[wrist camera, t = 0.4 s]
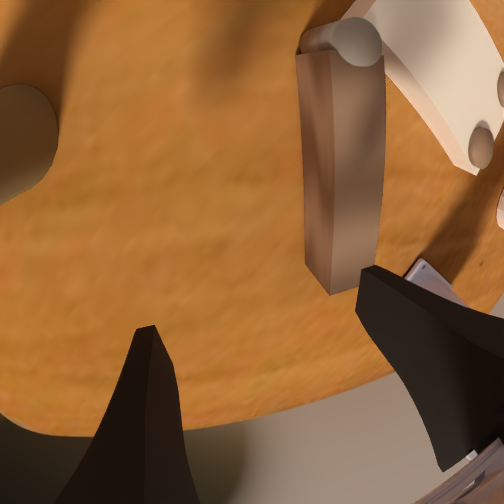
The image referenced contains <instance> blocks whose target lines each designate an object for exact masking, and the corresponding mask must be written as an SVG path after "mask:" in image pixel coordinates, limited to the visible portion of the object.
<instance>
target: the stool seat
mask: <svg viewBox="0 0 504 504" xmlns="http://www.w3.org/2000/svg"><path fill="white" fill-rule="evenodd" d="M351 17H360V18H363V19H365V20H367V21H369V22H370V23H371V24H373V26H374V27H375V28H376V29H377V31H378V32H379V34H380V37H381V40H382V54H381V55H384V65H385V74H386V75H387V76H388V77H389V78H390V79H391V80H392V82H393V83H394V84H395V85H396V86H397V87H398V88H399V90H400V91H401V92H402V93H403V94H404V96H405V97H406V98H407V99H408V101H409V102H410V103H411V104H412V106H413V107H414V108H415V109H416V111H417V112H418V113H419V115H420V116H421V117H422V119H423V120H424V121H425V123H426V124H427V125H428V127H429V128H430V130H431V131H432V133H433V134H434V135H435V137H436V138H437V140H438V141H439V143H440V144H441V146H442V147H443V149H444V150H445V152H446V153H447V155H448V156H449V158H450V160H451V161H452V163H453V164H454V166H457V167H459V168H461V169H463V170H465V171H467V172H470V173H472V174H474V175H477V174H478V172H479V170H480V169H484V168H486V167H487V166H488V164H489V163H490V161H491V159H492V156H493V151H494V141H495V138H496V136H497V134H498V132H499V130H500V128H501V126H502V123H503V121H504V63H503V61H502V59H501V57H500V55H499V52H498V50H497V48H496V46H495V44H494V42H493V40H492V38H491V37H490V35H489V33H488V31H487V29H486V27H485V26H484V24H483V22H482V20H481V19H480V17H479V15H478V14H477V12H476V10H475V9H474V7H473V6H472V4H471V2H470V1H469V0H356V1H355V2H354V3H353V4H352V5H351V7H350V8H349V9H348V10H347V12H346V13H345V14H344V15H343V17H342V18H341V19H340V20H343V19H347V18H351Z"/></svg>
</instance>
